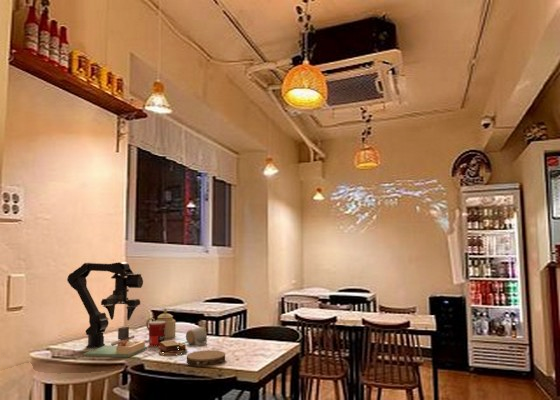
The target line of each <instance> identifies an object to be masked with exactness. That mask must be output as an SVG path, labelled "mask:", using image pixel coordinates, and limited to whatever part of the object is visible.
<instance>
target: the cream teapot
mask: <svg viewBox="0 0 560 400" xmlns="http://www.w3.org/2000/svg"><path fill="white" fill-rule="evenodd" d="M173 317H174V315H172V314H170V313H168V310H167V308H164V309H163V313H161V314H159V315H158V316H157V319H156V320H155V318H153V317H149V318H148V319H146V321H145V322H146V323H145V326H146V330H147V331H149V322H150V321H151V320H152V321H165V340H166V339H172V338H174V337H176V324H177V323H176V319H174V318H173Z"/></svg>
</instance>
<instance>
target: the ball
mask: <svg viewBox="0 0 560 400" xmlns="http://www.w3.org/2000/svg"><path fill="white" fill-rule="evenodd" d="M134 341H135V340H129V341H128V342H127V343H126V345H125V346H131V345H134V344H135V342H134Z"/></svg>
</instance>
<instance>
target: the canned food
mask: <svg viewBox="0 0 560 400" xmlns="http://www.w3.org/2000/svg"><path fill="white" fill-rule="evenodd" d="M148 326H149V330H148V345H149V346H150V347H160V342H162V341H166V339H165V321H156V320H155V321H153V320H152V321H149V322H148Z"/></svg>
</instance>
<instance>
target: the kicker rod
mask: <svg viewBox="0 0 560 400" xmlns="http://www.w3.org/2000/svg"><path fill="white" fill-rule="evenodd" d="M129 332H130V327H129V326H122V327H118V328H117V339H118V340H116V341H113V342H111V345H110V346H125V345H126V343H127V342H128V341H131V340H132V339H135V337H136V336H135V335H134V334H133V335H129V334H130V333H129Z"/></svg>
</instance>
